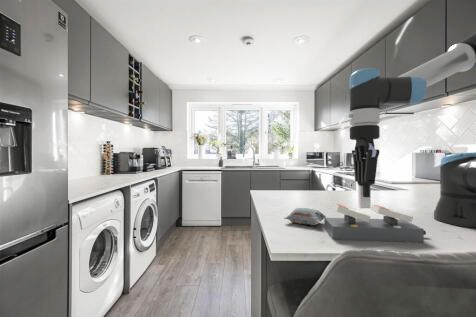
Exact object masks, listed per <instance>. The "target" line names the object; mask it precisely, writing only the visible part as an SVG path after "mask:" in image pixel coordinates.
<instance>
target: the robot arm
mask: <svg viewBox="0 0 476 317" xmlns="http://www.w3.org/2000/svg"><path fill="white" fill-rule="evenodd" d="M475 67H476V31H475V32H474V33H471V34H470V35H469V36H467V37H466V38H464V39H462V40H461V41H459V42H457V43H455V44H453V45H452V46H450V47H449V48H448V49H447V51H446V52H444V53H442V54H440V55H438V56H436V57H434V58H432V59H430V60H429V61H426V62H425V63H422V64H420V65H419V66H417V67H415V68H412V69H411V70H409V71H407V72H404V73H403V74H400V75H399V76H392V77H389V76H388V77H387V76H386V77H385V76H381V72H380V70H379V69H378V68H374V67H367V68H361V69H358V70H355V71H354V72H353V73H351V74H350V77H349V85H348V86H349V88H348V91H349V114H348V115H347V118H348V119H349V125H350V126H351V127H349V139H350V140H352V141H355V146H354V149H352V150H351V155H352V160H353V171H354V180H355V181H354V182H357V185H358V186H357V188H358V195H357V196H358V201H357V202H358V208H359V209H368V210H369V209H370V210H371V207H372V201H371V197H372V196H371V191H372V190H371V187H372V185H375V183H376V176H377V167H378V158H379V155H380V149H376V148H375V142H374V141H375V140H378V139H380V135H381V134H380V130H381V129H380V128H381V126H379V124H380V123H381V122H380V121H381V119H380V118H381V117H380V116H381V111H384V110H388V109H391V108H394V107H398V106H401V105H406V106H409V105H416V104H419V103H420V102H422V101H423V100H424V98H425V97H426V94H427V91H428V89H427V88H428V87H430V86H432V85H434V84H436V83H438V82H440V81H442V80H444V79H447V78H448V77H450V76H452V75H454V74H456V73H464V72H467V71H470V70H471V69H473V68H475ZM439 168H440V170H439V172H440V174H439V175H440V177H439V178H440V179H439V180H440V181H439V182H440V183H439V184H440V185H439V186H440V190H439V191H440V196H439V200H438V201H437V204H436V206H435V209H434V211H433V219H434V220H436V221H439V222H441V223H445V224H450V225H452V226H453V225H454V226H460V227H466V228H473V229H474V228H475V229H476V152H464V153H463V152H461V153H460V152H459V153H452V154H446V155H443V156H442V157H441V159H440V165H439Z"/></svg>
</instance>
